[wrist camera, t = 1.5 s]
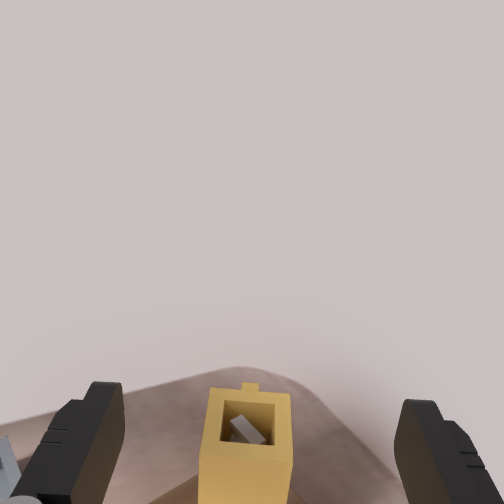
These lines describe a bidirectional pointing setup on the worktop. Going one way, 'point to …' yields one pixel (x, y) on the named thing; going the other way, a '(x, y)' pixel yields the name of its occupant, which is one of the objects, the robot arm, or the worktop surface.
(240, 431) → the board
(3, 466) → the tray
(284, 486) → the yellow open box
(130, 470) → the worktop surface
